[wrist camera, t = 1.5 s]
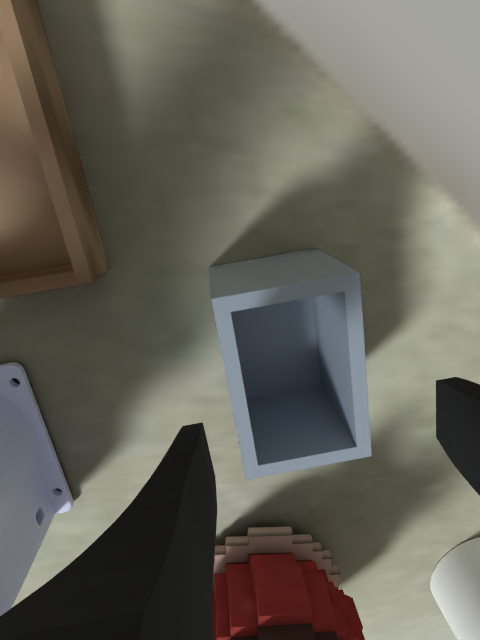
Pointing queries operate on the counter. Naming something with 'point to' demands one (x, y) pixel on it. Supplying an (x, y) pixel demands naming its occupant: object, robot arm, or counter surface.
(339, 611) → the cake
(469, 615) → the cylindrical container
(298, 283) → the grey crate
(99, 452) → the counter surface
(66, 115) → the walnut crate
